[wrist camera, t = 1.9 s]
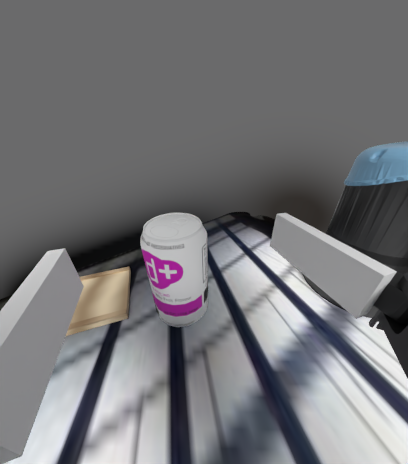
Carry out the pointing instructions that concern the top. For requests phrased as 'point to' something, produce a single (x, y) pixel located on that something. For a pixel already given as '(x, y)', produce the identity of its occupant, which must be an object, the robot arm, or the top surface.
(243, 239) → the top surface
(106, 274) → the trivet
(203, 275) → the supplement can
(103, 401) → the top surface
